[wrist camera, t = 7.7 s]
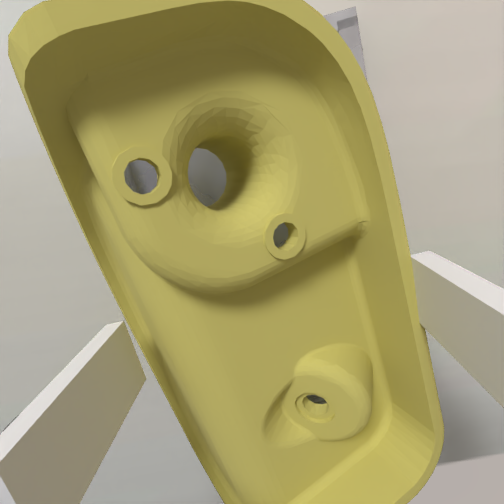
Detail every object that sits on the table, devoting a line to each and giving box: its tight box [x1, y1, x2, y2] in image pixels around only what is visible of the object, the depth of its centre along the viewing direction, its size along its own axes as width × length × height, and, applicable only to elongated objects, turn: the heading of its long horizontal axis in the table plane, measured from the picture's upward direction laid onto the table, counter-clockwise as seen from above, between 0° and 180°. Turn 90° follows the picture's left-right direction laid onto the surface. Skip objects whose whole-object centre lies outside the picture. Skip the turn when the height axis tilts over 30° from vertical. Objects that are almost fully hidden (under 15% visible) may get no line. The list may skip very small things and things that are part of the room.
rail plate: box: [124, 7, 367, 404], centre depth 21 cm, size 16×24×2 cm, turn 14°
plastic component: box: [8, 0, 444, 504], centre depth 14 cm, size 20×7×10 cm
